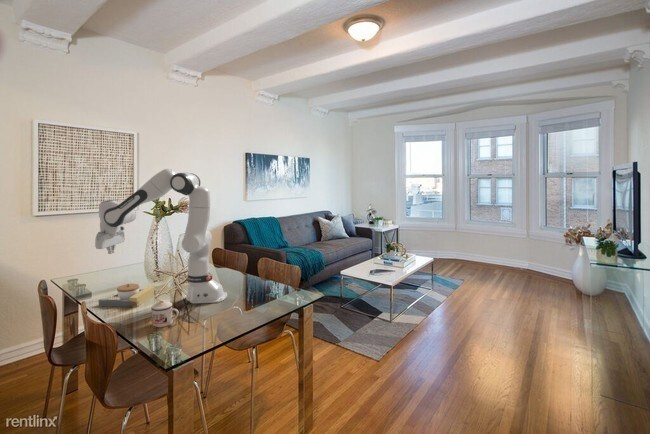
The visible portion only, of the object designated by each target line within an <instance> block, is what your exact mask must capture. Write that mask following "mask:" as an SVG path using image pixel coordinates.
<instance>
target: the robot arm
mask: <svg viewBox="0 0 650 434" xmlns="http://www.w3.org/2000/svg"><path fill="white" fill-rule="evenodd" d="M171 190H173V191H174V192H176V193H179V194H182V195H183V196H188V198H189V200H188V201H189V202H188V203H189V204H188V218H187V224H186V226H185V231H184V232H185V233H184V236H183V238H182V240H181V247H182V249H183V250H184V251H185V252H186V253H189V257H188V259H187V283H188V284H187V293H186V297H185V299H186V301H188V302H189V303H191V304H208V303H209V304H216V303H220V302H222V301H224V300H225V299H227V297H228V292H226V291H224V288H223V285H222V284H221V283H219V282H217V281H216V280H214V279H213V276H214V273H210V265H209V264H210V263H209V259H210V251H211V245H212V244H211V242H212V239H213V235H212V233H211V231H210V230H208V226H209V223H210V218H211V217H210V216H211V194H210V191H209V189H208V188H207V187H205V186H201V178H200V177H199V176H198V175H197V174H195V173H191V172H190V173H189V172H178V173H176V172H175V171H174V170H172V169H169V168H164V169H162V170H160V171H158V172H157V173H156V174H154V175H153V176H152V177H151V178H150V179H148V180H147V181H146V182H145V183H144V184H143V185H142V186H141V187H140V188H138V189H137V190H136V191H135V192H133V193H132V194H131V195H129V196H128V197H127V198H125V200H123V201H122V202H120V203H119V202H117V200H114V199H111V200H105V201H101V202H100V203H99V206H98V217H99V220H100V221H99V231H98V232H97V234H96V236H95V243H94V247H95V249H97V250H103V249H104V250H105V249H106V251H107V254H108V255H112V254H114V253H115V250H116V247H117V245H119V244H122V243H124V242H125V239H126V238H125V237H126V235H125V231H124V230H125V226H123V225H126V224H130V223H132V222H133V221H135V220H136V218H137V213H136V211H135V209H137V208H138V207H139V206H140V205H143V204H145V203H149V202H153V201H156V200H158V199H160V198H162V197H164V196H165V195H167V193H168V192H170V191H171Z"/></svg>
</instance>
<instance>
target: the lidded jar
mask: <svg viewBox="0 0 650 434" xmlns="http://www.w3.org/2000/svg"><path fill="white" fill-rule="evenodd" d="M139 289H140V285H139V284H138V283H126V284H122V285H120V286H118V287H117V288H116V291H117V295H118V298H119V300H129V298H130V297H131V296H133V295H135V294H136V293H138V292H139Z"/></svg>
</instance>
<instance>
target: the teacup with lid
mask: <svg viewBox="0 0 650 434" xmlns="http://www.w3.org/2000/svg"><path fill="white" fill-rule="evenodd" d="M173 307H174V306H173V303H172V302H170V301H166V300H164V299H159V300H158V302H156V303H153V304H152V305H151V308H150V309H151V317H152V326H153V327H154V326H155V328H164V327H168V326H170V325H172V324H173V322H174V320H175V319H176V318H178V316H179V313H180V312H179V310H178V309H177V308H173ZM173 311H174V312H175V313H176V314H175V316H173Z"/></svg>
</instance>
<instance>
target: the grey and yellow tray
mask: <svg viewBox="0 0 650 434" xmlns="http://www.w3.org/2000/svg"><path fill="white" fill-rule="evenodd" d="M154 295H155V296H156V286H152V285H149V286H147V287H145V288H143V289H142V288H141V289H140V288H139V292H138V293H136V294H135V295H133V296H131V297H130V298H129V300H121V299H107V298H105V299H103V298H101V299H98V306H99V307H100V306H103V307H130V308H132V307H134V308H137V307H139V306H141V305H142V304H144V303H145V302H147V301H148V300H150V299H151V298H153V297H154ZM149 298H150V299H149ZM146 300H147V301H146ZM143 302H144V303H143ZM140 304H141V305H140Z"/></svg>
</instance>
